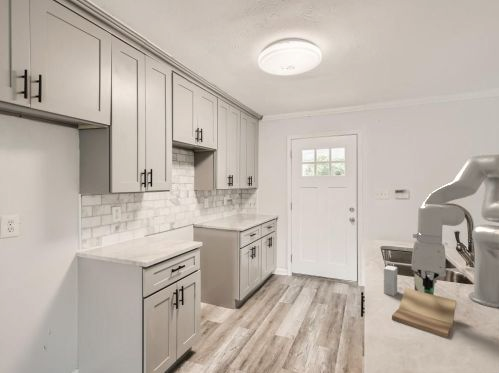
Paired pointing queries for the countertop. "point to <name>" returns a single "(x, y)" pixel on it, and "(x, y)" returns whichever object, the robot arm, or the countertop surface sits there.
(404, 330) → the countertop surface
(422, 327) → the floor board
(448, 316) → the oak plank
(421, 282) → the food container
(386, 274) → the skincare box
